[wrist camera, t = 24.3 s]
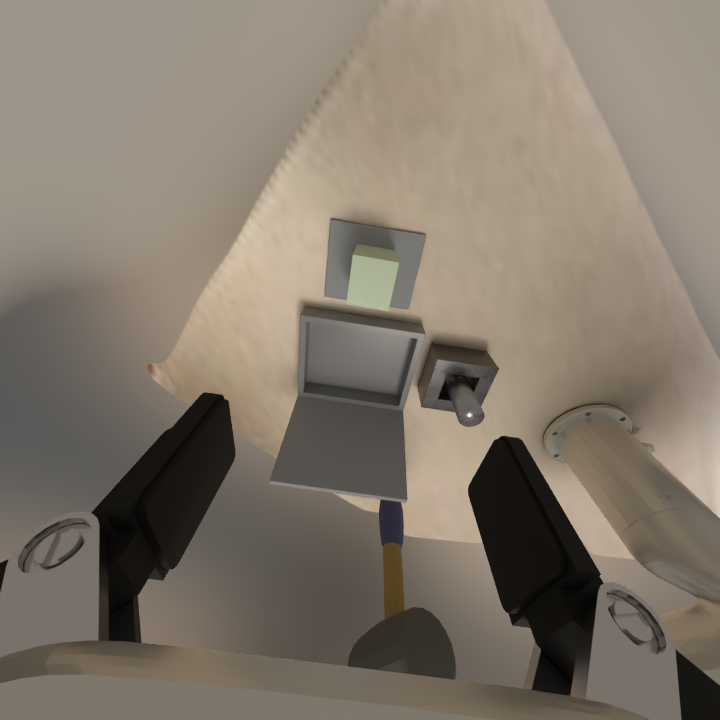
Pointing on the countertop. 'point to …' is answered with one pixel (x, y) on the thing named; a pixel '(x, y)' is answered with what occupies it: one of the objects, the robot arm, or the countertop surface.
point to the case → (357, 358)
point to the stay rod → (463, 400)
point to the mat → (351, 234)
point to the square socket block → (457, 362)
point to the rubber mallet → (402, 618)
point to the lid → (343, 450)
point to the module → (372, 277)
